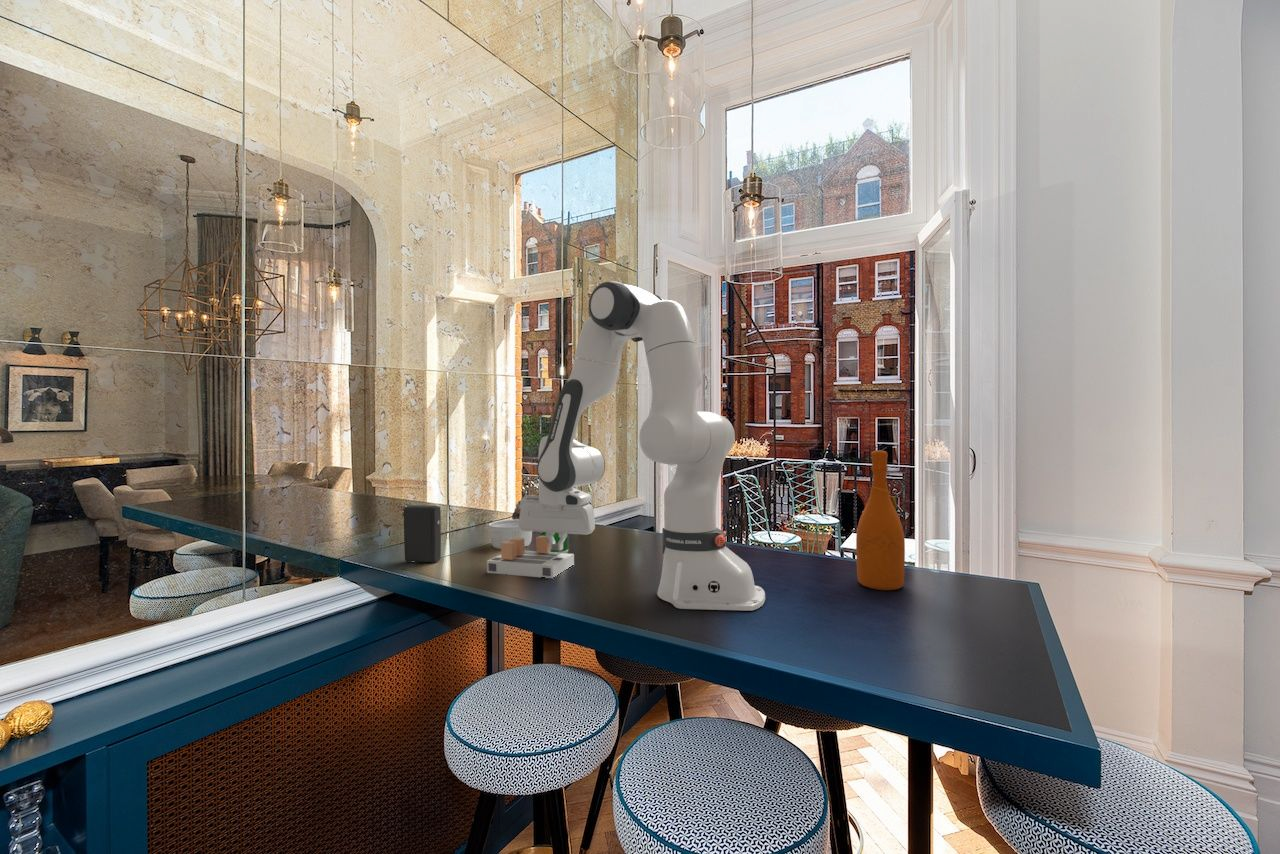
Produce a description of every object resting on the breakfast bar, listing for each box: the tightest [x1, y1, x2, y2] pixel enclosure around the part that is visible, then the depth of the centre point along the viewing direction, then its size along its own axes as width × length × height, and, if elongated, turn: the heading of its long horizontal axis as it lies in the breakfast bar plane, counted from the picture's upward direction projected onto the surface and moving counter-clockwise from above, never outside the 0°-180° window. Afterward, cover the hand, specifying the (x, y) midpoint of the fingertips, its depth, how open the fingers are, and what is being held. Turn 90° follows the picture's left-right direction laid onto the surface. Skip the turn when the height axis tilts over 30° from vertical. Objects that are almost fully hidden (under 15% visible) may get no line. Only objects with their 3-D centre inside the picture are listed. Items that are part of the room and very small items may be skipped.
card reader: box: [403, 504, 442, 563], centre depth 146 cm, size 9×4×15 cm, turn 82°
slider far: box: [535, 535, 550, 554], centre depth 140 cm, size 3×2×4 cm, turn 72°
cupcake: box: [511, 500, 521, 520], centre depth 188 cm, size 10×10×10 cm
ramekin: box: [488, 519, 533, 550], centre depth 164 cm, size 13×13×7 cm
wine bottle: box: [855, 449, 906, 591], centre depth 120 cm, size 10×10×30 cm
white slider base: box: [486, 550, 575, 579], centre depth 137 cm, size 18×12×3 cm
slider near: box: [500, 541, 516, 560], centre depth 134 cm, size 3×2×4 cm, turn 72°
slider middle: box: [510, 538, 526, 556], centre depth 138 cm, size 3×2×4 cm, turn 72°
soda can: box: [540, 532, 569, 553], centre depth 151 cm, size 8×8×12 cm
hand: (556, 549), depth 139 cm, fingers closed
